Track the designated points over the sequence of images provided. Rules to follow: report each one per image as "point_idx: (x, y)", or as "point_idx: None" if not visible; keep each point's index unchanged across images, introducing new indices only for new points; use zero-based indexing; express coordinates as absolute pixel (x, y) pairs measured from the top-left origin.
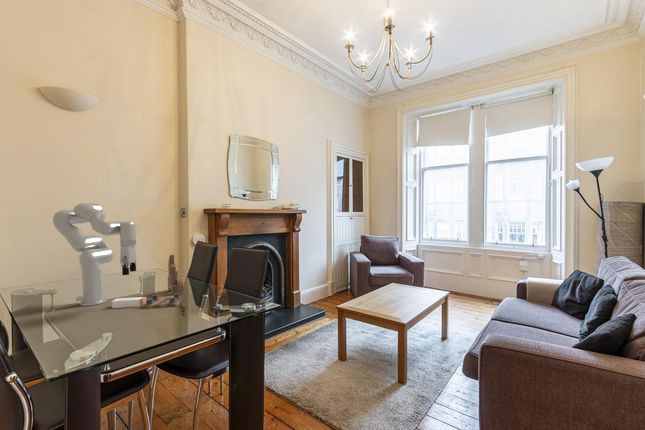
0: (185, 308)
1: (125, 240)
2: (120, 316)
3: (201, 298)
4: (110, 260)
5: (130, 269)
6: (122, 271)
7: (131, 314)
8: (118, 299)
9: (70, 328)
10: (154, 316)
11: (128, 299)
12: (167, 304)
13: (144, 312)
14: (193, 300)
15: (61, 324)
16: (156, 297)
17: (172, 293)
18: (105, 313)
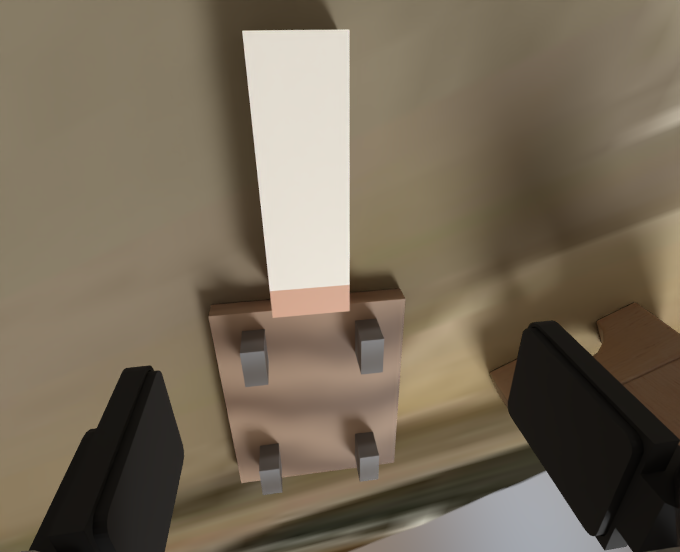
0: (194, 514)
1: None
2: (15, 232)
3: (368, 519)
4: None
5: (549, 362)
6: (97, 437)
7: (71, 291)
8: (306, 77)
9: None
10: (45, 436)
11: (286, 192)
12: (234, 443)
13: (120, 354)
14: (339, 500)
15: None
16: (358, 359)
17: (497, 381)
18: (80, 46)
